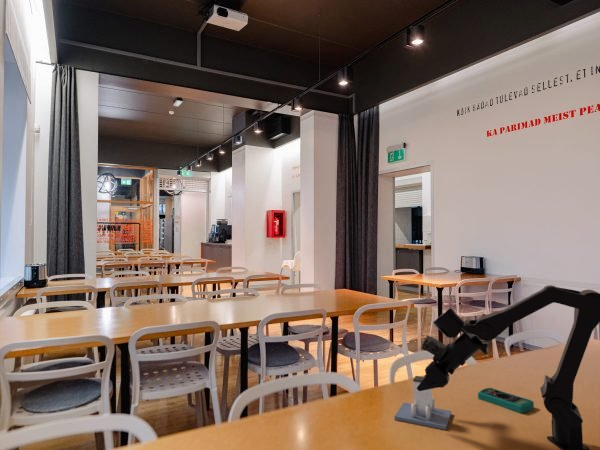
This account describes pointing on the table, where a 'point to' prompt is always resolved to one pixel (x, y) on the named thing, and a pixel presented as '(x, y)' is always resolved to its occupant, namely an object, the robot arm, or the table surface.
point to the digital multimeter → (506, 400)
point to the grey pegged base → (436, 420)
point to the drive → (421, 397)
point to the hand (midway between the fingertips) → (421, 384)
